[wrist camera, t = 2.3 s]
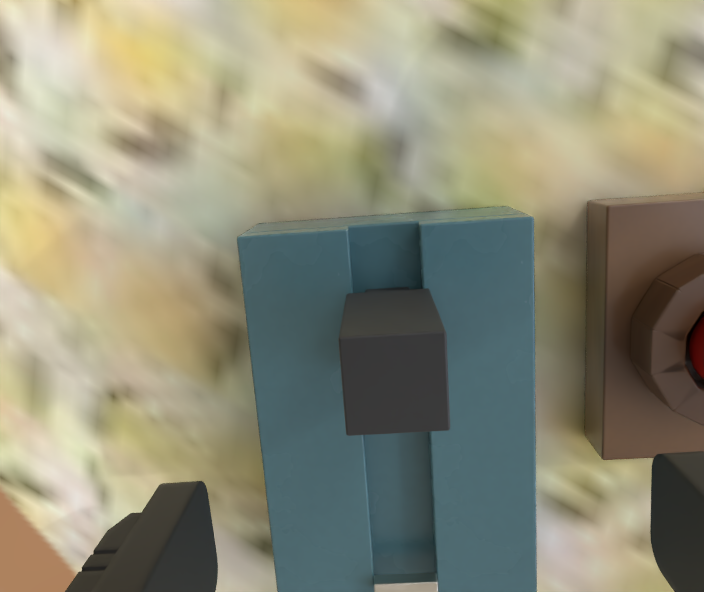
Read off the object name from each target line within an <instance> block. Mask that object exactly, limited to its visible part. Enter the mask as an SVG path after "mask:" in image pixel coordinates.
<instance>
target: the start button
mask: <svg viewBox="0 0 704 592" xmlns="http://www.w3.org/2000/svg"><path fill="white" fill-rule="evenodd" d="M689 354H690V359H691V363H692V365H693V367H694V369H695V370H696V372H697V373H698V374H699V375H700V376H701V377H702V378H703V379H704V317H703V318H702V319H701V320H700V321H699V322H698V324H697V325H696V327H695V329H694V330H693V333H692V335H691V339H690V344H689Z"/></svg>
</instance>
